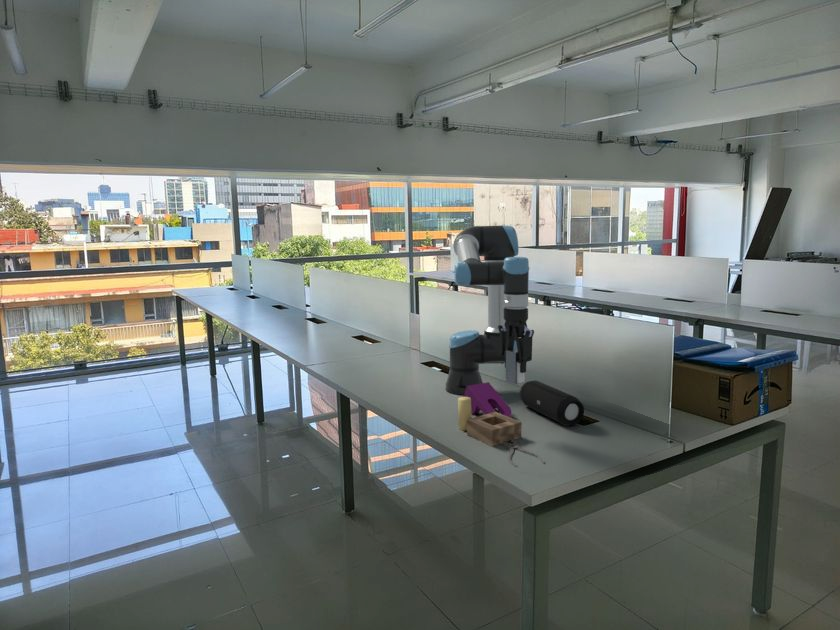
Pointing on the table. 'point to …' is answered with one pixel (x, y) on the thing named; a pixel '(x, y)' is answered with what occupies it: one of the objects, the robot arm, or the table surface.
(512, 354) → the square peg
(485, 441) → the socket block
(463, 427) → the round peg
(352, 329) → the table surface
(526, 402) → the portable speaker
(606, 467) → the table surface
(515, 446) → the pliers
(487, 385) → the mounting bracket
